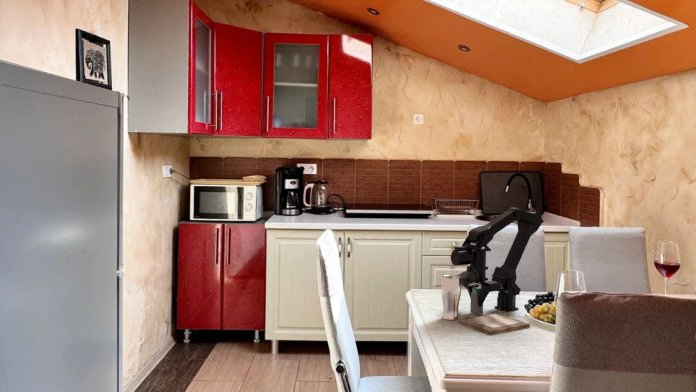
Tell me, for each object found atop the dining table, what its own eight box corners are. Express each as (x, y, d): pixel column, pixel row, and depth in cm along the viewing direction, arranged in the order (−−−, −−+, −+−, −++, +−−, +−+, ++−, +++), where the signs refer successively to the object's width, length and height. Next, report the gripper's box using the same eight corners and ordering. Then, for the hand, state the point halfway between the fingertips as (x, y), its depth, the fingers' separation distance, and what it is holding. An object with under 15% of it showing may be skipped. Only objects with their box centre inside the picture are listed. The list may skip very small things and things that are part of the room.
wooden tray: (496, 315, 209) (496, 309, 209) (529, 327, 195) (530, 320, 195) (457, 322, 201) (457, 316, 200) (490, 335, 187) (490, 328, 186)
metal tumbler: (460, 321, 201) (461, 279, 200) (440, 320, 203) (441, 278, 202) (460, 316, 208) (461, 275, 207) (441, 315, 209) (441, 274, 208)
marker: (476, 311, 215) (477, 287, 214) (483, 313, 212) (483, 288, 211) (469, 312, 213) (470, 288, 213) (476, 314, 210) (476, 289, 210)
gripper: (444, 261, 215) (443, 302, 217) (478, 270, 199) (477, 314, 200) (467, 258, 221) (466, 298, 222) (502, 267, 205) (501, 310, 206)
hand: (476, 305), depth 212 cm, fingers closed on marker, 3 cm apart
